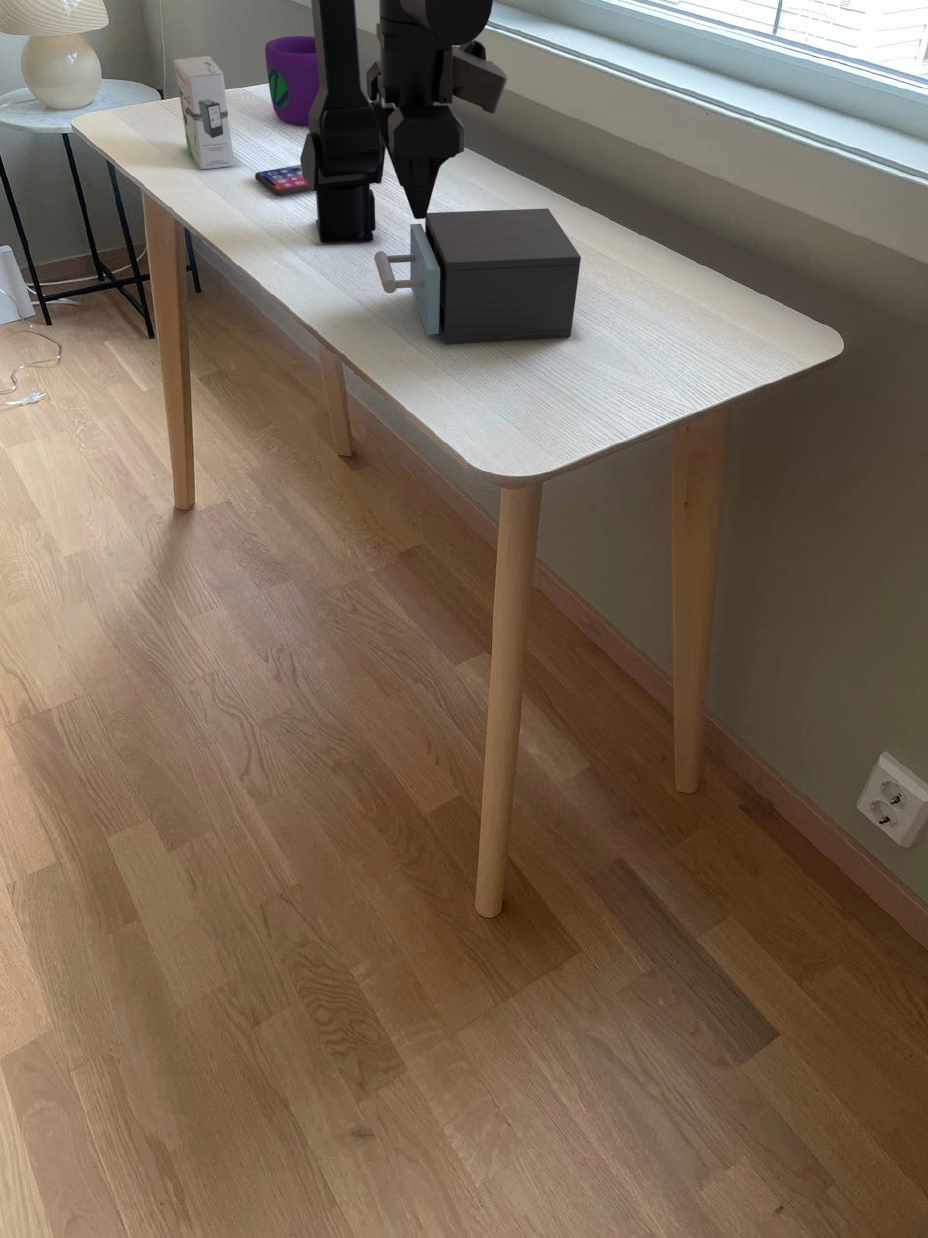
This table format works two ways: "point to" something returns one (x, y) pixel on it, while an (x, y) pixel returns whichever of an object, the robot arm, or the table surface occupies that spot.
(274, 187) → the smartphone
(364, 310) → the table surface
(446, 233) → the dark grey drawer cabinet
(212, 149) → the ink box
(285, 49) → the mug
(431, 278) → the light blue drawer
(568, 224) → the table surface
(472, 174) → the table surface
